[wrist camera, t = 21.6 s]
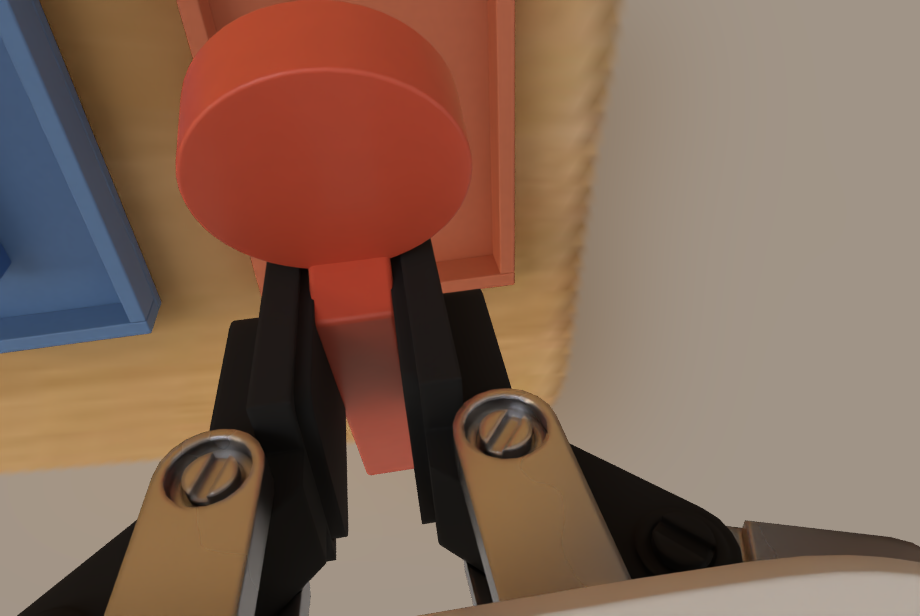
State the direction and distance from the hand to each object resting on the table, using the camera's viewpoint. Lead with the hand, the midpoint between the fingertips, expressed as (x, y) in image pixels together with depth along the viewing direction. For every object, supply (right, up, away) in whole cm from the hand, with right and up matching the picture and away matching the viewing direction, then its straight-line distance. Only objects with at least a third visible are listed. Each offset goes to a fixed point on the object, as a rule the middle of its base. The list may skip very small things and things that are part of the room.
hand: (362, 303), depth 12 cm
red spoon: (0, +1, 0) cm, 1 cm away
